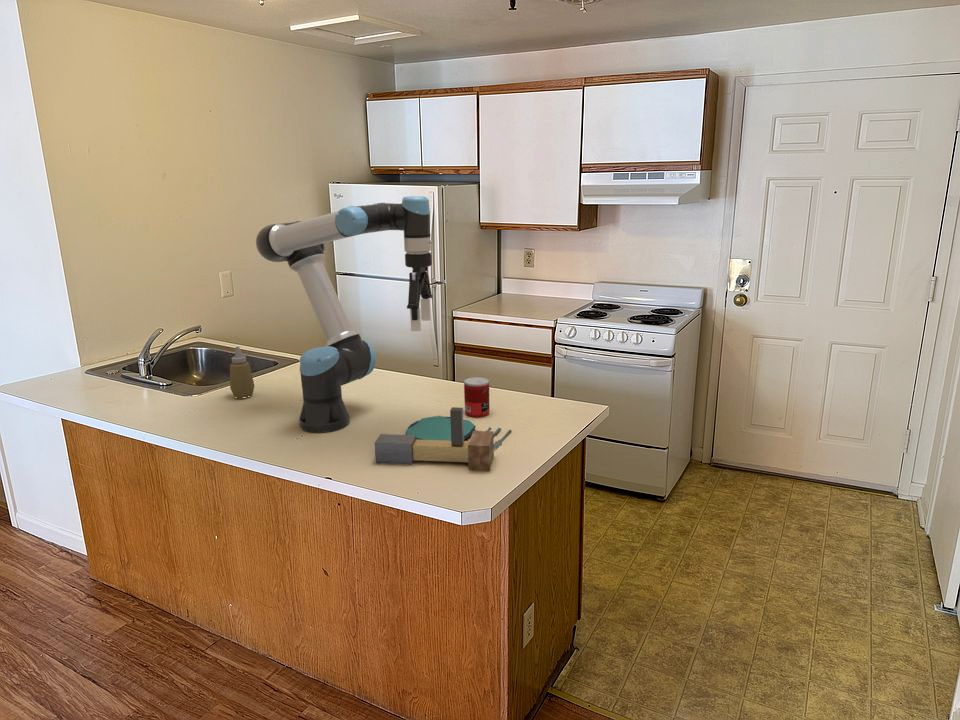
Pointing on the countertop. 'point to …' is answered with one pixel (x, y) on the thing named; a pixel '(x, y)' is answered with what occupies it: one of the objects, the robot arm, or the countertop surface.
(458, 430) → the gray and tan bar
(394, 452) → the sleeve
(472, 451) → the socket block
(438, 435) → the cutlery set
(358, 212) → the robot arm
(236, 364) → the squeeze bottle
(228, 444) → the countertop surface
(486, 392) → the canned food
